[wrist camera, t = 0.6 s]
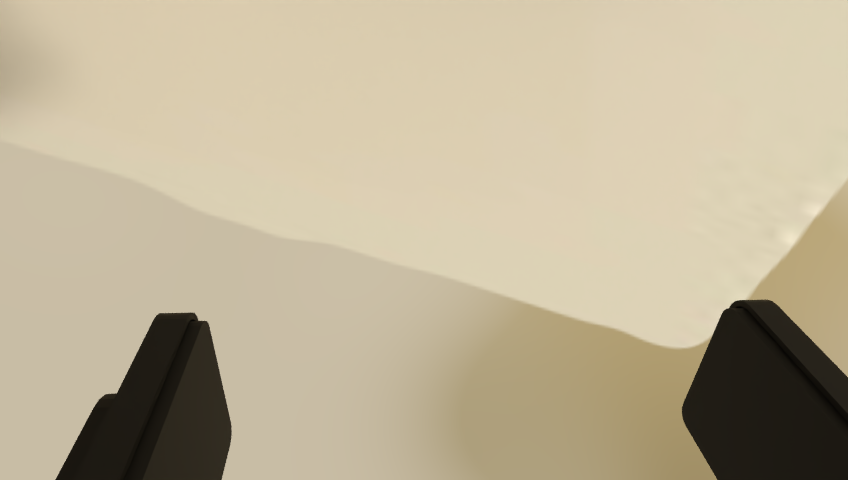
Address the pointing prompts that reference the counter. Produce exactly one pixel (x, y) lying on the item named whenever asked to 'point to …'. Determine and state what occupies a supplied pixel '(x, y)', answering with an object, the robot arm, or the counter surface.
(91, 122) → the counter surface
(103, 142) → the counter surface
